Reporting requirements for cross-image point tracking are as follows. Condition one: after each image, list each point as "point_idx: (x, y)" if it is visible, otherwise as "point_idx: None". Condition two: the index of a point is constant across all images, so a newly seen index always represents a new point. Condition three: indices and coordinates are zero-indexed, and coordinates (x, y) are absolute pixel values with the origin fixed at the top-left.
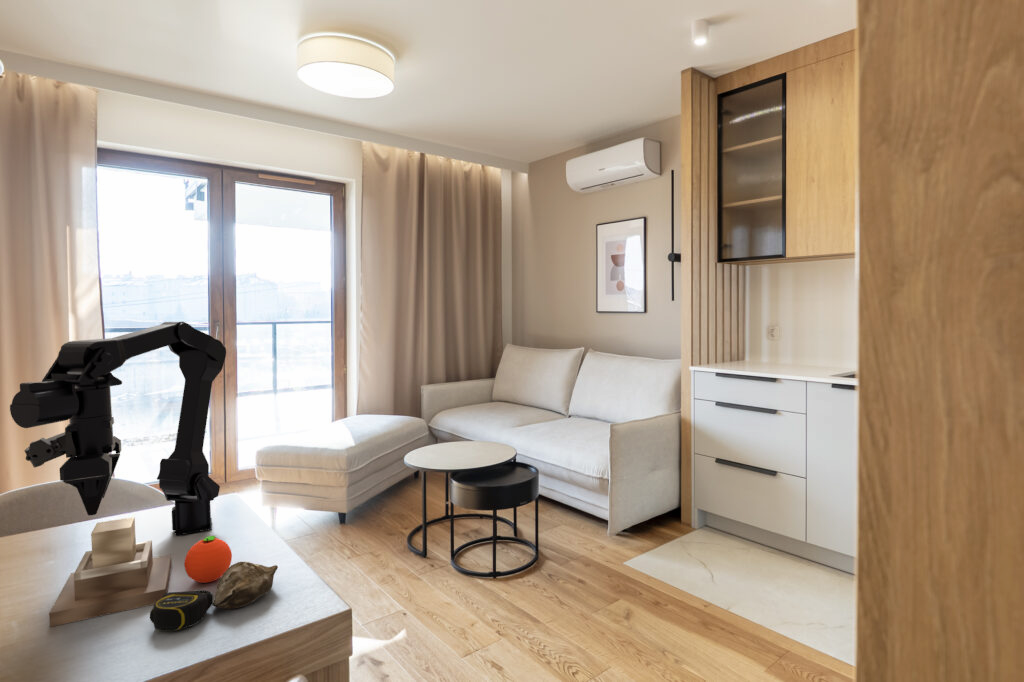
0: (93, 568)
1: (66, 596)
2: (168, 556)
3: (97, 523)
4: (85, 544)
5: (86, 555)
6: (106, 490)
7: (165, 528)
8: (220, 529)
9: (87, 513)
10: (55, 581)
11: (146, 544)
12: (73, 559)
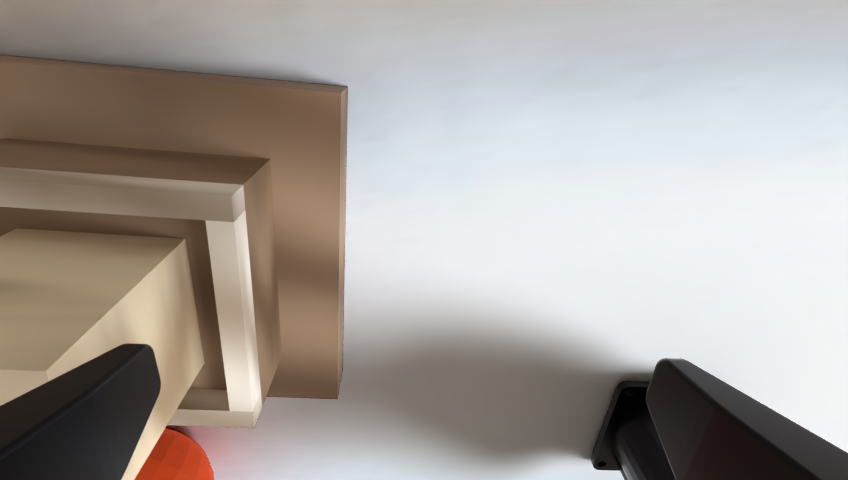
0: (3, 238)
1: (64, 101)
2: (323, 392)
3: (28, 374)
4: (827, 98)
5: (163, 204)
6: (676, 476)
7: (739, 354)
8: (578, 477)
9: (105, 353)
10: (433, 17)
11: (205, 413)
12: (663, 65)
